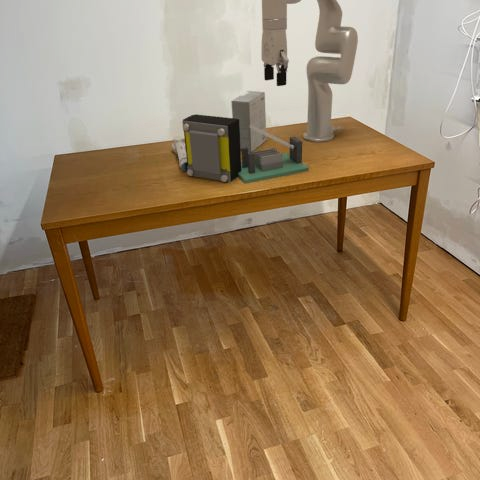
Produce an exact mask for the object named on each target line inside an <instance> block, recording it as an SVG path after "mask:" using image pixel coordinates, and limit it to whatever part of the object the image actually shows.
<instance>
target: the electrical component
mask: <svg viewBox="0 0 480 480" xmlns="http://www.w3.org/2000/svg"><path fill="white" fill-rule="evenodd" d="M182 131H183V134H184V136H183V137H184V143H185V146H186V147H185V150H186V156H187V165H188V166H187V169H188V171H186V174H187V175H188V176H191V177H198V178H203V179H208V180H209V179H210V180H212V181H213V180H214V181H220V182H224V183H232V182H233V181H235V180H236V179H237V178H239V177H238V173H239V172H241V162H242V154H241V149H240V126H239V119H235V118H232V117H223V116H214V115H205V114H191V115H189V116H187V117H185V118H183V119H182Z"/></svg>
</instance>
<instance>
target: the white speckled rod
mask: <svg viewBox="0 0 480 480" xmlns="http://www.w3.org/2000/svg"><path fill="white" fill-rule="evenodd" d="M171 147H172V150H173V153H175V154H177V158H178V165H179V167H180V169H181V171H183V172H187V171H188V169H187V166H188V165H187V156H186V146H185V141H184V140H183V137H182V136H180V135H176V136H174V138H173V143H172V144H171Z"/></svg>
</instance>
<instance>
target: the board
mask: <svg viewBox="0 0 480 480" xmlns="http://www.w3.org/2000/svg"><path fill="white" fill-rule="evenodd" d="M289 143H290V144H292V145H294V146H295V150H292V149H291V148H289V152H288V153H282V152H280V151H279V150H278V149H276V148H275V147H273V148H272V147H271V148H266V149H261V150H256V151H255V150H253V151H252V152H251V153H250V152H248V148H247V147H243V148H241V172H239V173H238V177H237V178H239V179H240V180H241V181H242V182H243V183H244V184H249V183H250V184H251V183H254V182H259V181H265V180H270V179H274V178H279V177H280V178H281V177H285V176H289V175H294V174H299V173H305V172H309V166H307V165H306V164H305V163H303V141H302V140H301V139H300V138H298V137H296V136H291V137H289Z"/></svg>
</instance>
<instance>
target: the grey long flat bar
mask: <svg viewBox="0 0 480 480" xmlns="http://www.w3.org/2000/svg"><path fill="white" fill-rule="evenodd" d="M249 127H250V128H251V129H253V130H255V131H257V132H259V133H261V134H263V135H265V136H266V138H269V139H271V140H273V141H275V142H277V143H279V144H282V145H283V146H286V147H287V148H289V149H290V148H291V149H292V150H295V146H294V145H292V144H290V141H289V142H287V141H286V140H284V139H281V138H279V137H277V136H275V135H273V134H271V133H269V132H268V131H266V132H265V131H263V130H261V129H259V128H257V127H255V126H253V125H251V124H250V126H249Z"/></svg>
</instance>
